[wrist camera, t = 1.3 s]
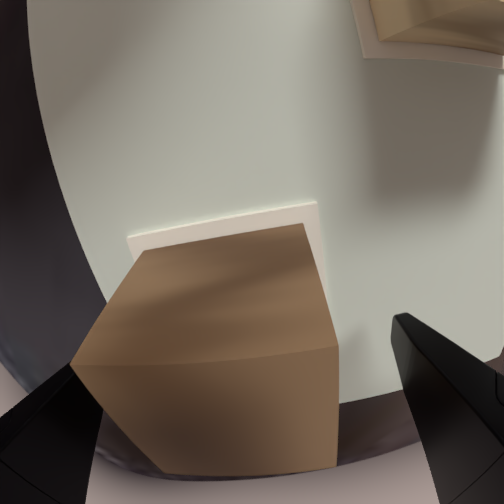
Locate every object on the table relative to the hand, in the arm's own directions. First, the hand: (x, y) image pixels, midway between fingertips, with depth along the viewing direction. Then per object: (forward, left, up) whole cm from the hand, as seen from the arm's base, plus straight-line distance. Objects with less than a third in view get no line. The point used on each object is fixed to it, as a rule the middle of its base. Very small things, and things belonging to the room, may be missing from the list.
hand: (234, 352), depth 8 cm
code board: (-4, -3, -3) cm, 6 cm away
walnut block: (0, 0, -2) cm, 2 cm away
